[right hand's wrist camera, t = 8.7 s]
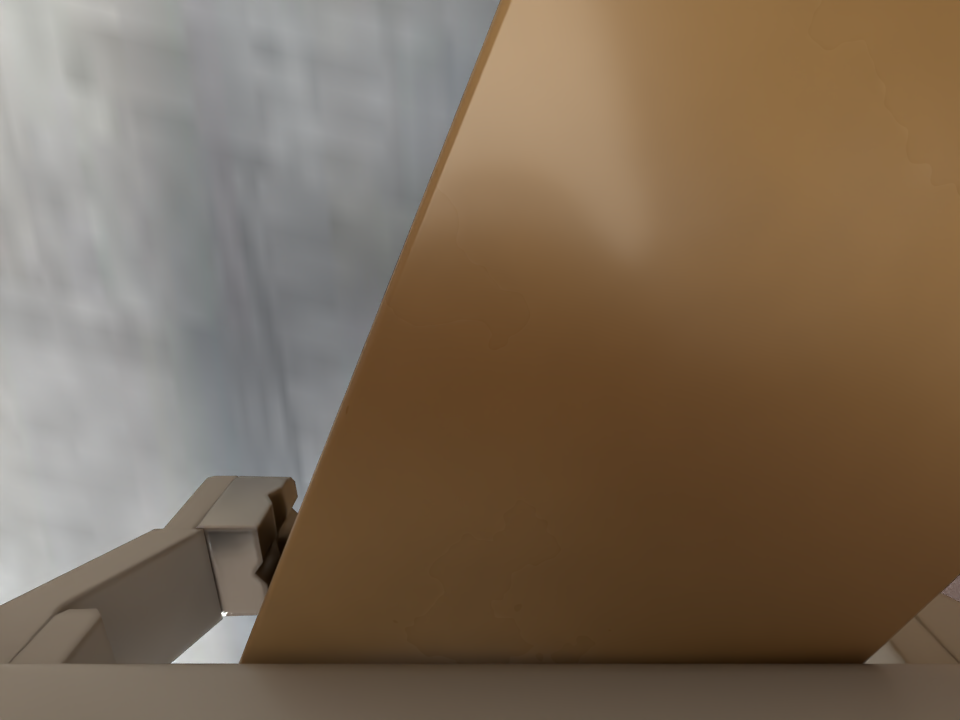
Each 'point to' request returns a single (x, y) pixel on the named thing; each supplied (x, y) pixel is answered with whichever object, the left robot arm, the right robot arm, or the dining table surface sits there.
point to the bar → (656, 353)
